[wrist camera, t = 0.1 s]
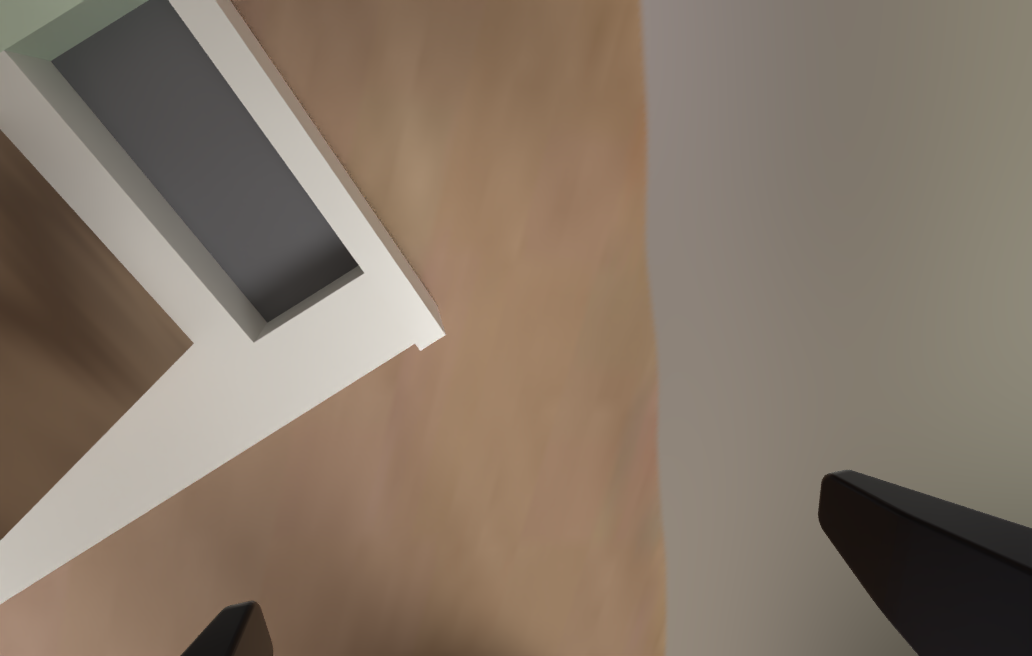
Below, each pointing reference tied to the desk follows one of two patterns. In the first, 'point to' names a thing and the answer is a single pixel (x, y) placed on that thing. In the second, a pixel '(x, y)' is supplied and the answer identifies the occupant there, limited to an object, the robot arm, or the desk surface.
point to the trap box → (196, 244)
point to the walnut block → (64, 337)
